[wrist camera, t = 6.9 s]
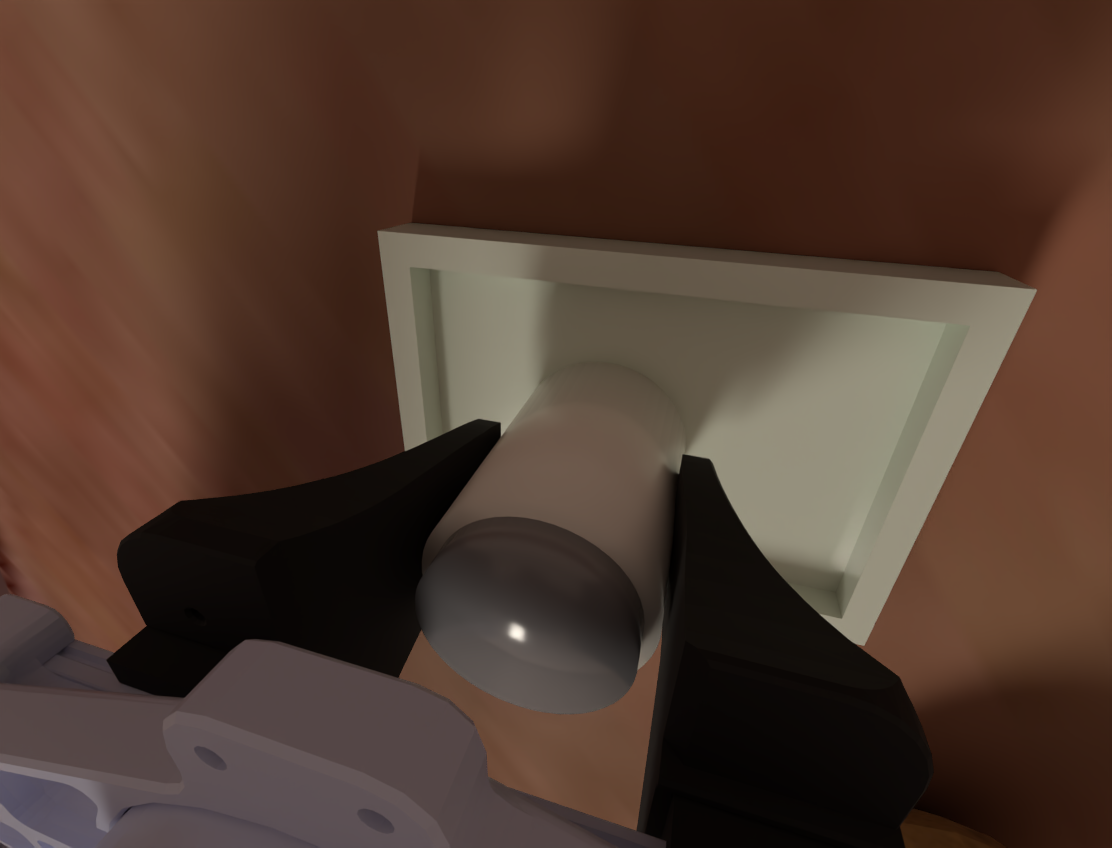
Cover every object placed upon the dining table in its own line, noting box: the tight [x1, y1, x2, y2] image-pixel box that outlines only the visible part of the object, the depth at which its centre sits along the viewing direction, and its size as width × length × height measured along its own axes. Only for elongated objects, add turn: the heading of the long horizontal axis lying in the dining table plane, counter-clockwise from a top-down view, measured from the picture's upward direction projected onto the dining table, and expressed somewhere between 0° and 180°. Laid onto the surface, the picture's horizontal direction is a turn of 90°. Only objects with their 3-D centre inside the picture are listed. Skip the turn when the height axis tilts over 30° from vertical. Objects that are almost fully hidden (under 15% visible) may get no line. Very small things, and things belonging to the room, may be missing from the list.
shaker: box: [415, 362, 686, 714], centre depth 12 cm, size 5×5×7 cm
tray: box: [377, 223, 1037, 646], centre depth 14 cm, size 14×10×2 cm
